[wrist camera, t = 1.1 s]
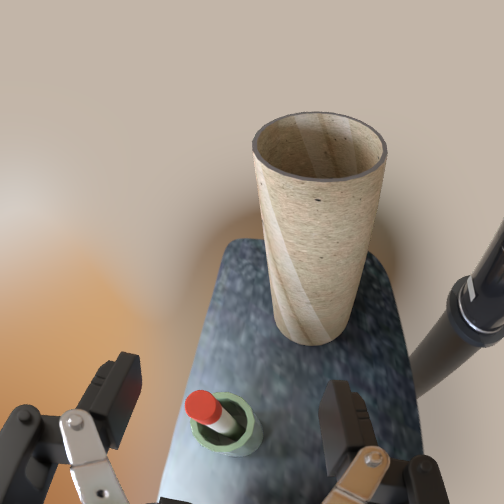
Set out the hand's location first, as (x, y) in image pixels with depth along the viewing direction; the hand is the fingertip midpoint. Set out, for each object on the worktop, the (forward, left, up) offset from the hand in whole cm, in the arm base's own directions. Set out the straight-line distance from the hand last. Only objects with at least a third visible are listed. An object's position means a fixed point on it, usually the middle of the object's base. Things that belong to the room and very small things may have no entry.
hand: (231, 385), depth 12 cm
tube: (-10, -15, -25) cm, 30 cm away
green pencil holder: (+3, -2, -24) cm, 25 cm away
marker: (+3, -2, -24) cm, 24 cm away
